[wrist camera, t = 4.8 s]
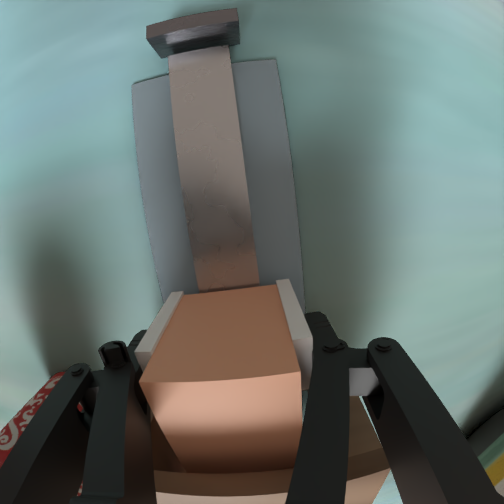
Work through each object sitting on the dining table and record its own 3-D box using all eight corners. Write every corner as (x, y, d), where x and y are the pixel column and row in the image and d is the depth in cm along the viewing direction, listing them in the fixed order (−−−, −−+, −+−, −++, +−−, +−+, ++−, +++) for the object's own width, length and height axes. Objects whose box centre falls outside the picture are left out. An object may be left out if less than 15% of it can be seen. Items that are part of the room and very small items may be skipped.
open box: (325, 416, 21) (357, 526, 9) (188, 428, 21) (168, 538, 10) (327, 332, 18) (391, 467, 7) (158, 350, 19) (100, 480, 7)
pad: (305, 323, 18) (305, 324, 18) (174, 337, 18) (173, 338, 18) (275, 60, 14) (275, 59, 14) (132, 85, 14) (131, 85, 14)
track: (286, 432, 21) (289, 457, 18) (230, 437, 21) (229, 462, 18) (237, 32, 13) (236, 8, 10) (160, 46, 13) (146, 26, 11)
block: (290, 447, 20) (302, 521, 12) (229, 453, 20) (225, 526, 12) (276, 284, 16) (300, 371, 8) (182, 295, 16) (138, 382, 8)
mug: (38, 347, 19) (-44, 436, 6) (121, 385, 19) (59, 514, 6) (58, 426, 22) (13, 502, 9) (125, 456, 22) (94, 547, 9)
